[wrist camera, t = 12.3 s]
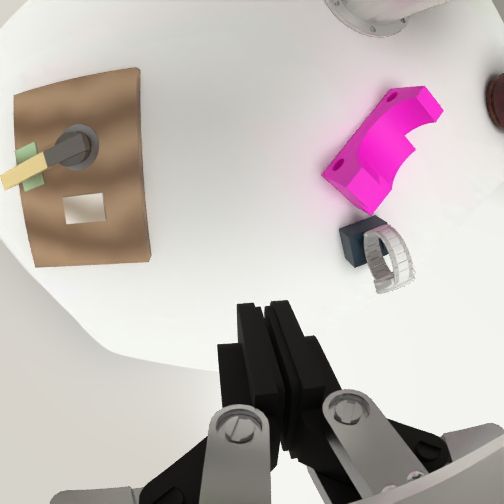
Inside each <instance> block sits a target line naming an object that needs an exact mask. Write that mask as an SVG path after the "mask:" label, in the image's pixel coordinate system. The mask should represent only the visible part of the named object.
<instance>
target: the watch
mask: <svg viewBox="0 0 504 504" xmlns="http://www.w3.org/2000/svg"><path fill="white" fill-rule="evenodd" d="M339 232H340V236H341V240H342V245H343V249H344V254H345V258H346V259H347V260H348V261H349V262H350V263H351V264H352V265H353V266H354V268H356V267H358V266H361V265H363V264H366V263H368V266H369V269H370V271H371V270H372V271H371V273H372V275H373V277H374V279H375V280H374V284H375V287H376V292H377V293H378V294H380V293H386V292H389V291H393V290H395V289H398V288H401V287H403V286H405V285H407V284H409V283H410V282H412V281H413V280H414V279H415V276H414V274H415V270H414V269H413V265H412V261H411V256H410V253H409V250H408V248H407V246H406V244H405V242H404V240H403V239H402V237H401V236H400V234H399V233H398V232H397V231H396V230H395V229H394V228H392V227H391V225H388V224H387V222H385V221H384V220H382V219H380V218H379V217H377V216H376V215H375V216H373V217H370V218H367V219H365V220H362V221H359V222H357V223H354V224H351V225H349V226H346V227H344V228H341V229H339ZM397 244H398V245H397ZM395 245H396V246H395ZM402 245H403V246H402ZM403 251H404V252H403ZM401 252H402V253H401ZM387 254H389V256H390V259H391V262H392V266H393V272H391V271H390V270H389V268H388V266H387V265H385V264H386V262H385V260H384V258H383V256H385V255H387ZM396 254H397V255H396ZM394 258H395V259H394ZM392 259H393V260H392ZM369 263H370V264H369ZM379 264H380V265H379ZM374 266H375V267H374Z"/></svg>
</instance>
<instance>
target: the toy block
mask: <svg viewBox="0 0 504 504" xmlns="http://www.w3.org/2000/svg"><path fill="white" fill-rule="evenodd" d="M443 111H444V110H443V109H442V108H441V106H440V105H439V104H438V102H437V101H436V100H435V98H434V97H433V96H432V94H431V93H430V92H429V91H428V89H427V88H426V87H425V86H416V87H405V88H395V89H390V90H389V91H388V93H387V94H386V95H385V97H384V98H383V99H382V100H381V102H380V103H379V104H378V105H377V107H376V108H375V109H374V110H373V112H372V113H371V114H370V115H369V117H368V118H367V119H366V120H365V122H364V123H363V124H362V125H361V127H360V128H359V129H358V130H357V132H356V133H355V134H354V135H353V137H352V138H351V139H350V140H349V141H348V143H347V144H346V145H345V146H344V148H343V149H342V150H341V151H340V153H339V154H338V155H337V156H336V158H335V159H334V160H333V161H332V163H331V164H330V165H329V166H328V168H327V169H326V170H325V171H324V173H323V174H322V176H323V177H324V178H325V179H326V180H327V181H328V182H330V183H331V184H332V185H333V186H334V187H335V188H336V189H337V190H339V191H340V192H341V193H342V194H343V195H344V196H345V197H346V198H347V199H348V200H349V201H351V202H352V203H353V204H354V205H355V206H356V207H358V208H359V209H361V210H363V211H364V212H366V213H368V214H369V215H372V214H373V213H374V211H375V210H376V209H377V208H378V206H379V205H380V204H381V203H382V201H383V200H384V199H385V197H386V196H387V195H388V194H389V192H390V191H391V190H392V184H393V180H394V178H395V175H396V173H397V171H398V169H399V168H400V166H401V165H402V164H403V162H404V161H405V160H406V159H407V158H408V157H409V156H410V155H411V154H412V153H413V152H414V151H415V150H416V149H415V148H414V147H413V145H412V144H411V143H410V142H409V141H408V139H407V138H406V137H405V136H404V135H406V134H407V133H409V132H410V131H412V130H413V129H415V128H417V127H419V126H421V125H424V124H428V123H433V122H436V121H437V120H438V118H439V117H440V115H441V114H442V112H443Z"/></svg>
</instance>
